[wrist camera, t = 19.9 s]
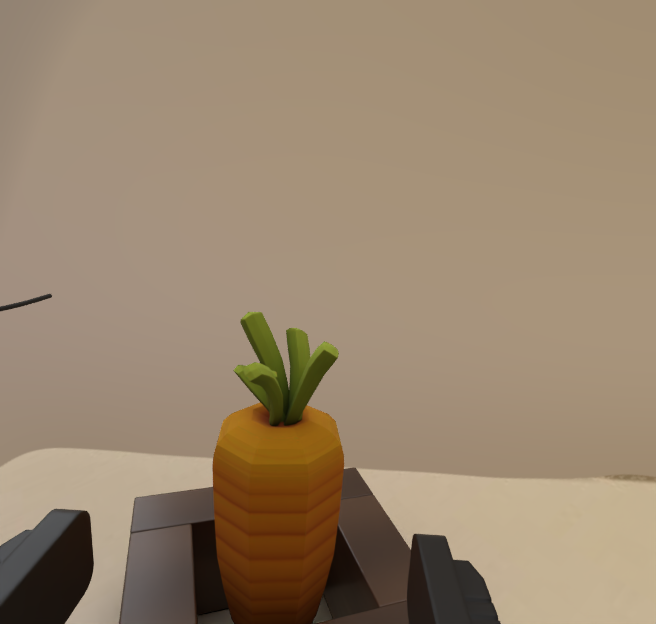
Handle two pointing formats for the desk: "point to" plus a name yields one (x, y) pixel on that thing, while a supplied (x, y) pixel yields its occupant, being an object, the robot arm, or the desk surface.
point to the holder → (204, 573)
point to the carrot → (277, 485)
